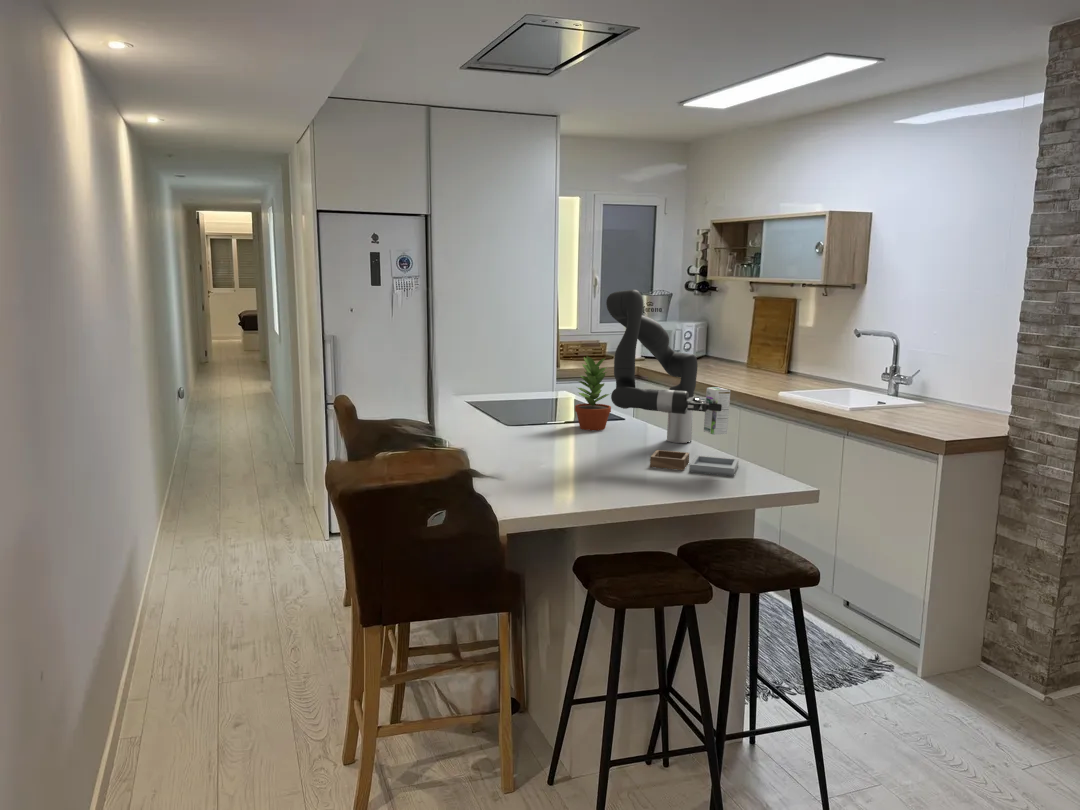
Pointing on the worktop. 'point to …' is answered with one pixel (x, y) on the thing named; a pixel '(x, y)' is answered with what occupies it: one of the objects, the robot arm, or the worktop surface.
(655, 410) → the robot arm
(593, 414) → the potted plant
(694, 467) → the slate tray
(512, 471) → the worktop surface
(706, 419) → the syrup box
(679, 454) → the walnut holder
